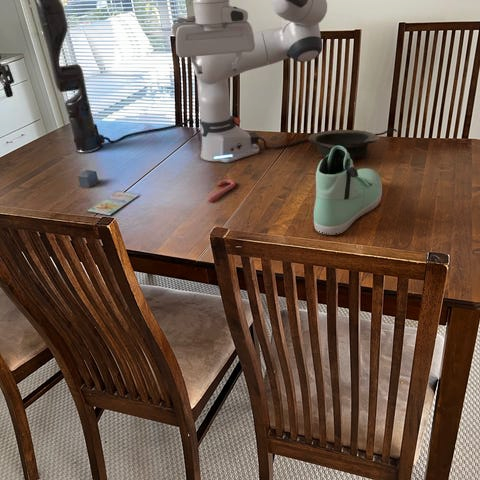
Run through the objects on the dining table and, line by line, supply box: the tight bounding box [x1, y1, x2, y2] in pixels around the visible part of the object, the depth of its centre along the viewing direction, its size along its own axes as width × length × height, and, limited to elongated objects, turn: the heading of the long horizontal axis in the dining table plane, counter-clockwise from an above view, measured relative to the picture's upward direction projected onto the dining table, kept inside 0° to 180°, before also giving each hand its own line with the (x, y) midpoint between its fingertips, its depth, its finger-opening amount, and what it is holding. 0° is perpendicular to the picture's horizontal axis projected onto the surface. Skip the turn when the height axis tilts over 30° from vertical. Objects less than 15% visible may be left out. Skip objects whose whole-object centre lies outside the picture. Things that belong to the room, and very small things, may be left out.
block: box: [77, 169, 99, 189], centre depth 166 cm, size 4×5×4 cm
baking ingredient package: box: [87, 191, 139, 216], centre depth 152 cm, size 9×1×15 cm
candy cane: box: [207, 178, 236, 203], centre depth 154 cm, size 6×15×2 cm, turn 145°
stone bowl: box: [307, 129, 380, 162], centre depth 171 cm, size 25×25×9 cm
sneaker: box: [313, 146, 383, 236], centre depth 133 cm, size 14×35×20 cm, turn 152°
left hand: (1, 96), depth 163 cm, fingers open, 8 cm apart
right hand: (217, 72), depth 126 cm, fingers open, 8 cm apart
